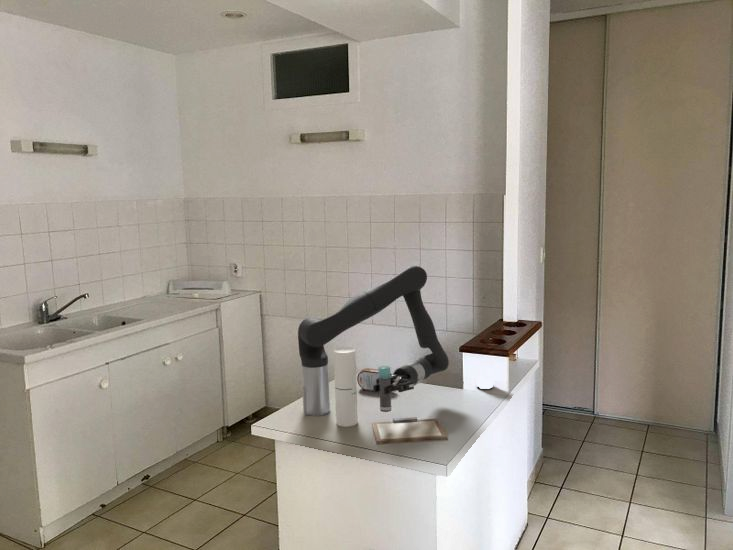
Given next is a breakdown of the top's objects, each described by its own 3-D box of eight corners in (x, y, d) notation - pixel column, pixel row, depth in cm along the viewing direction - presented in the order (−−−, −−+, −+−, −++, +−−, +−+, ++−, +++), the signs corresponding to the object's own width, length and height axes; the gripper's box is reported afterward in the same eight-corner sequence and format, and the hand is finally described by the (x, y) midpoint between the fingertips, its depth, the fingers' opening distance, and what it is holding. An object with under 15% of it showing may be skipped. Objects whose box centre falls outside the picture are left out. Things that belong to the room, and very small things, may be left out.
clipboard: (376, 443, 186) (376, 438, 186) (371, 425, 201) (371, 419, 200) (447, 439, 188) (447, 433, 187) (437, 420, 202) (437, 415, 202)
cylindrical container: (333, 420, 205) (330, 348, 202) (352, 417, 208) (350, 346, 205) (340, 428, 199) (338, 354, 195) (360, 424, 202) (358, 351, 198)
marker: (380, 412, 193) (379, 370, 191) (379, 408, 197) (377, 366, 195) (392, 411, 194) (390, 369, 191) (390, 407, 197) (389, 365, 195)
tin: (395, 391, 233) (394, 370, 232) (392, 394, 230) (391, 372, 229) (359, 387, 239) (359, 366, 238) (356, 390, 236) (355, 369, 235)
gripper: (391, 361, 209) (361, 375, 195) (427, 367, 201) (397, 382, 187) (392, 382, 210) (362, 397, 197) (427, 389, 202) (398, 405, 188)
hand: (379, 390), depth 192 cm, fingers closed on marker, 3 cm apart
